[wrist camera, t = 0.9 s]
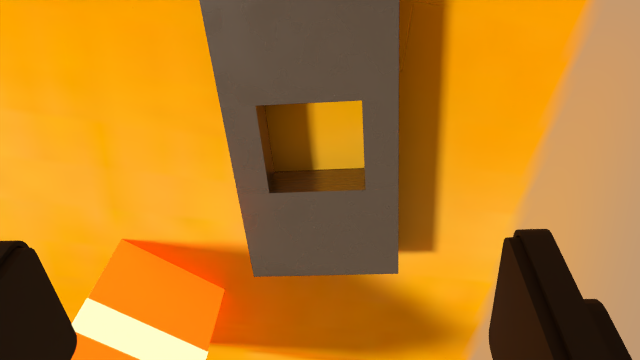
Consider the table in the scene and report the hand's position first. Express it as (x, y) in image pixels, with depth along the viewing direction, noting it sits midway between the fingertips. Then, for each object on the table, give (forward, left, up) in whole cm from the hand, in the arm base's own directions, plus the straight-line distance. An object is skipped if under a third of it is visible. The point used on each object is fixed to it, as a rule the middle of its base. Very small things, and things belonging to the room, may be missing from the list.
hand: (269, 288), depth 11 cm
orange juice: (+22, -15, -22) cm, 34 cm away
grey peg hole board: (+8, -1, -22) cm, 23 cm away
